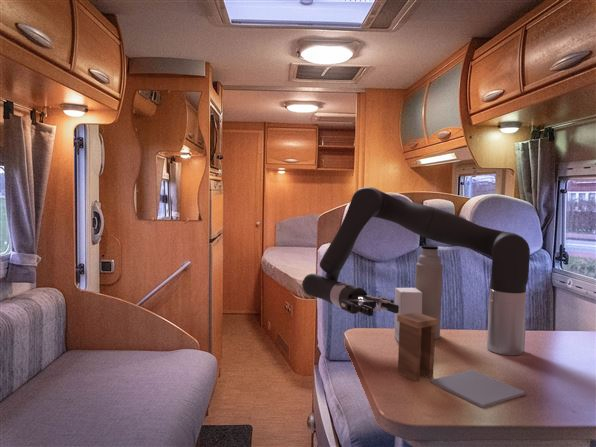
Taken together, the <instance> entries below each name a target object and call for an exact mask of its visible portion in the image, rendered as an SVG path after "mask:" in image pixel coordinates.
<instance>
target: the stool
mask: <svg viewBox="0 0 596 447" xmlns="http://www.w3.org/2000/svg"><path fill="white" fill-rule="evenodd" d="M397 321H399V322H400V326H399V343H398V355H397V356H398V358H397V360H398V361H397V374H400V375H401V376H403V377H406V378H408V379H410V380H412V381H414V382H419V381H420V375H422V376H424V377H426V378H428V379H431V378H434V366H435V364H434V363H435V362H434V361H435V342H436V341H435V340H436V339H435V325H438V319H436V318H433V317H430V316H426V315H423V314H420V313H410V314H403V315H397Z"/></svg>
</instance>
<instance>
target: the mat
mask: <svg viewBox="0 0 596 447" xmlns="http://www.w3.org/2000/svg"><path fill="white" fill-rule="evenodd" d="M430 383H431V384H433V385H434V386H435V385H436V386H437V387H439V388H441V389H443V390H446V391H447V392H449V393H452V394H454V395H455V396H457V397H460V398H461V399H464V400H466V401H468V402H470V403H472V404H474V405H476V406H477V407H480V408H482V409H483V408H486V407H491V406H493V405H496V404H499V403H502V402H506V401H509V400H513V399H515V398H519V397H522V396H525V395H526V391H524V390H521V389H520V388H517V387H515V386H512V385H510V384H507V383H505V382H502V381H501V380H497V379H495V378H492V377H491V376H488V375H486V374H484V373H481V372H478V371H476V370H474V369H470V370H465V371H463V372H458V373H454V374H449V375H446V376H441V377H437V378H433V379H430Z"/></svg>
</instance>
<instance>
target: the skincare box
mask: <svg viewBox="0 0 596 447" xmlns="http://www.w3.org/2000/svg"><path fill="white" fill-rule="evenodd" d="M394 295H395V296H394V304H396V305H398V306H399V312H398V313H394V339H395V340H396V341H397V342H398V344H399V326H400V322H399V321H397V315H403V314H410V313H420V314H422V292H420V291H419V290H418V289H416V288H415V287H395V288H394Z"/></svg>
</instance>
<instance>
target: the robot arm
mask: <svg viewBox="0 0 596 447" xmlns="http://www.w3.org/2000/svg"><path fill="white" fill-rule="evenodd" d="M372 218H376V219H382V220H385V221H387V222H388V221H389V222H391V223H395V224H397V225H400V226H401V227H403V228H405V229H407V230H408V231H410V232H412V233H414V234H415V235H418V236H420V237H423V238H426V239H428V240H431V241H433V242H434V241H435V242H438V243H441V244H443V245H444V244H446V245H449V246H454V247H461V248H466V249H470V250H472V251H475V252H478V253H481V254H483V255H485V256H487V257H490V258H492V259H491V260H492V262H491V275H490V281H489V298H488V299H489V300H488V301H489V302H488V320H487V336H486V338H487V339H486V341H487V342H486V349H487V350H489V351H491V352H493V353H495V354H500V355H505V356H520V355H522V354H523V352H524V351H525V346H526V344H525V343H526V325H527V324H526V323H527V318H526V317H525V316H526V301H527V300H526V296H527V295H526V294H527V293H526V292H527V285H528V282H529V274H530V273H529V272H530V258H531V257H530V256H531V254H530V253H531V252H530V250H531V249H530V246H529V245H530V244H529V243H528V242H527V240H526V239H525V238H524V237H523V236H521V235H520V234H517V233H514V232H508V231H503V230H499V229H495V228H490V227H486V226H482V225H479V224H476V223H474V222H473V221H470V220H468V219H466V218H464V217H461V216H459V215H456V214H454V213H451V212H449V211H445V210H443V209H439V208H436V207H432V206H429V205H426V204H422V203H417V202H413V201H412V202H411V201H408V200H402V199H401V198H397V197H394V196H392V195H390V194H388V193H386V192H384V191H382V190H379V189H377V188H376V187H371V186H366V187H361V188H359V189H357V190H356V191H355V192H354V193H353V195H352V198H351V200H350V203H349V206H348V208H347V211H346V214H345V215H344V218H343V220H342V222H341V224H340V227H339V229H338V231H337V233H336V234H335V236H334V237H333V239H332V241H331V242H330V244H329V246H328V247H327V249H326V251H325V253H324V254H323V256H322V258H321V259H320V262H319V267H320V268H321V270H322V271H324V272H325V273H326V274H325V275H324V276H323V275H320V274H317V273H309V274H307V275H305V277H304V278H303V280H302V284H301V285H302V290H303V292H304V293H305V294H306V295H308V296H310V297H315V298H317V299H321V300H324V301H325V302H327V303H329V304H332V305H334V306H336V307H338V308H340V309H341V310H344V311H346V312H348V313H349V314H352V315H355V314H356V315H357V314H360V315H361V314H363V315H365V316H368V317H373V316H374V311H375V312H381V311H388V312H391V313H393V314H395V313H398V312H399V306H398V305H396V304H395V299H391V298H388V297H385V296H381V295H377V296H373V295H369V294H368V293H367V291H366V290H365V289H364V288H362V287H360V286H356V285H353V284H350V283H348V282H347V283H346V282H341V281H338V280H339V277H340V274H341V271H342V269H343V267H344V266H345V264H346V262H347V260H348V259H349V257H350V255H351V253H352V251H353V248H354V246H355V243H356V241H357V239H358V237H359V236H360V234H361V232H362V230H363V229H364V228H365V226H366V225H367V223H368V222H369V221H370V220H371V219H372ZM377 306H378V307H377Z"/></svg>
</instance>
